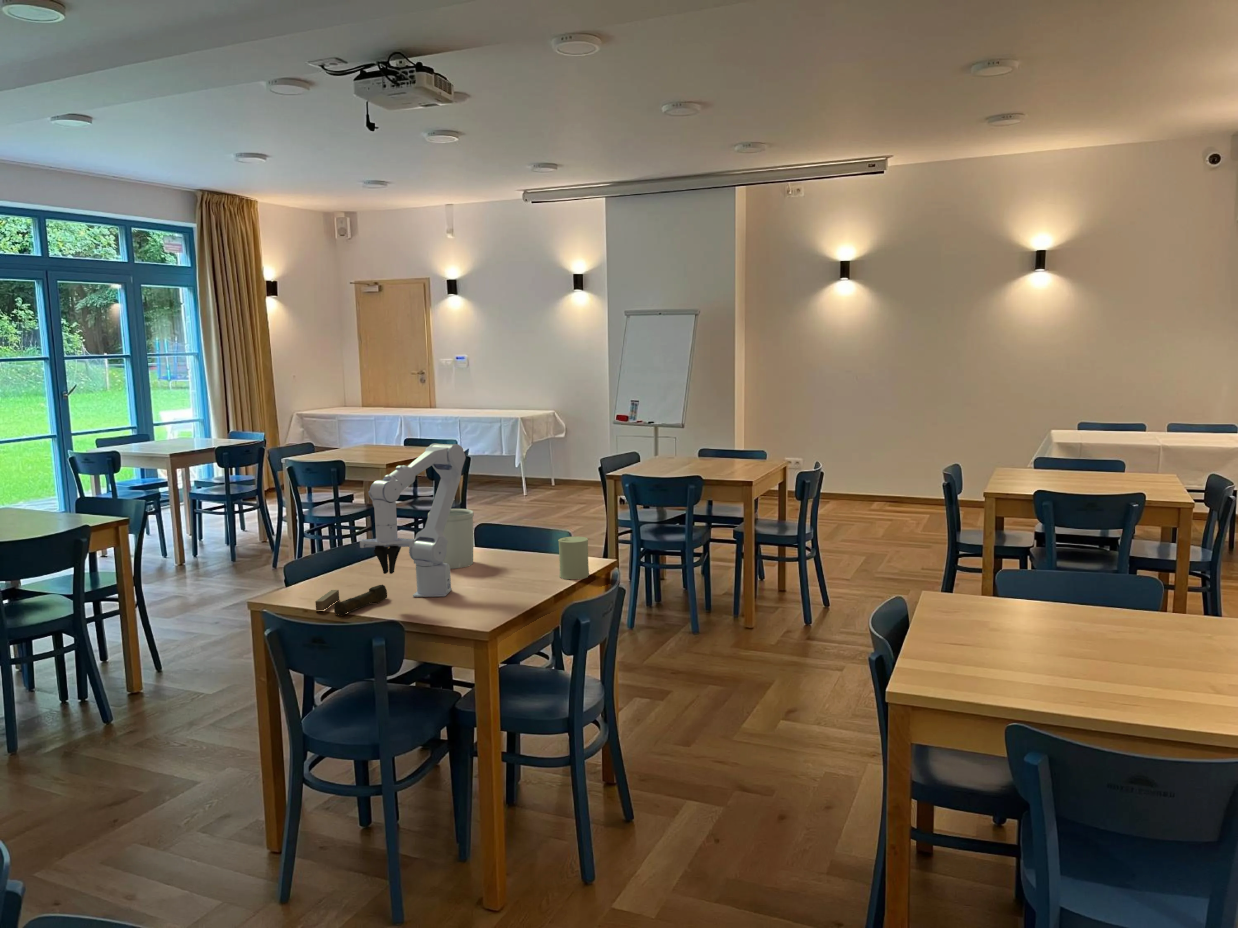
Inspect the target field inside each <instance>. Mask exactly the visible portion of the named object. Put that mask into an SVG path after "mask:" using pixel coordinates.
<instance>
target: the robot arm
mask: <svg viewBox="0 0 1238 928" xmlns="http://www.w3.org/2000/svg"><path fill="white" fill-rule="evenodd" d="M465 461H466V454H465V451H464V449H463V447H462V446H461V444H458V443H454V444H450V443H449V444H448V443H447V444H446V443H444V444H443V443H437V442H436V443H435V442H434V443H431V444H430V445H429V446H427V447H426V448H424V452H423V453H421V454H420V455H419V456H418V457H417V458H415V459H414V460H413V461H412V462H410V463H409V464H408V465H404V464H403V465H397V466H396V467H395V470H393V471H391V473H388V474H386V475H384V476H383V478H382V479H377V480H375V481H373V483H372V484H371V485H370V487H369V491H367V492H368V496H369V498H370V500H371V502H372V506H373V508H374V510H373V511H374V523H375V524H374V525H375V538H371V539H361V540H359V548H361V549H364V548H374V549H373V552H374V554H375V556H376V557H377V559H378V561H379V563H380V566H381V569H382V572H383V575H384V574H386V575H387V573H389V574H390V575H391V574H394V573H395V569H396V563H397V560H398V556H399V553H400V551H401V549H402V547H403V548H407V547H409V548H408V554H409V557H410V559H411V560H413V564H415V576H416V577H415V578H416V591H415V593H413V594H412V597H414V598H417V597H418V598H419V597H420V598H423V597H428V598H429V597H431V598H432V597H434V598H437V597H447V595H448V594H449V593H450V592H451V591H452V589H453V588H452V581H451V580H452V579H451V569H450V566H449V564H447V563H443V561H444V559H445V557H446V553H447V543H448V540H447V539H446V537H445V536H444V534H443V532H444V529H445V526H446V522H447V519H448V516H449V513H450V510H451V509H452V507H453V505H454V504H453V503H454V501H455V500H454V499H455V497H456V494H457V492H458V491H457V490H458V489H459V484H460V482H461V479H462V471H463V467H464V464H465ZM431 466H432V468H433V470H435V472H436V473H437V474H438V475H439V477H440V479H439V483H438V486H437V490H436V493H435V495H434V498H433V502H432V505H431V508H430V511H429V512H430V513H429V512H428V513H429V516H428V515H427V519H426V522H425V525H424V528H422V529H421V530H419V531H418V532H416V534H415V538H401V537H399V536H398V519H397V501H398V499H399V498H400V495H401V493H402V492H403V491H404V490H406V488H408V487H409V486H411V485H413V483H414V482H415V480H416V476H418V475H419V474H421V473H422V472H424V471H425V470H427V469H428V468H430V467H431ZM398 537H399V538H398Z"/></svg>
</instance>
